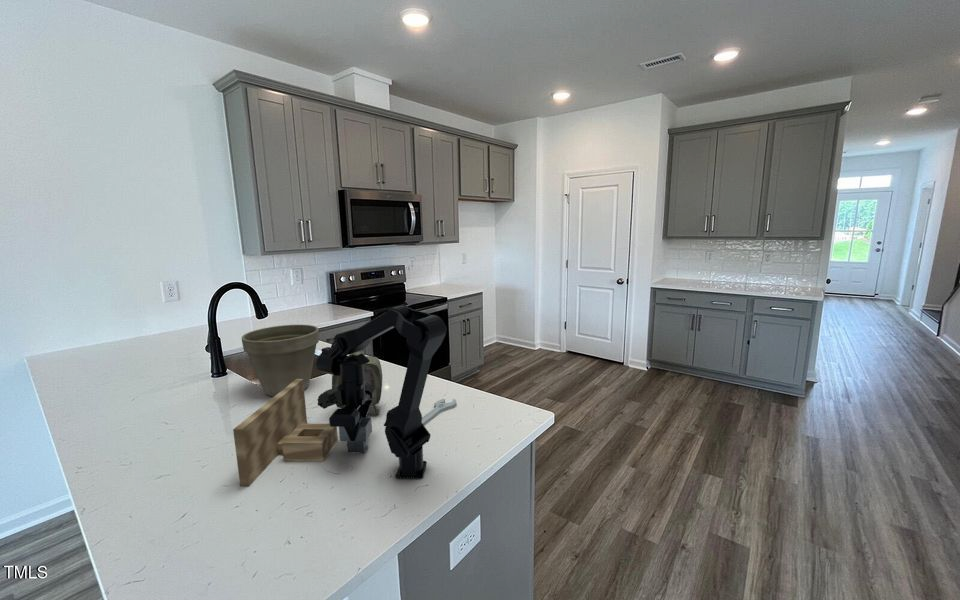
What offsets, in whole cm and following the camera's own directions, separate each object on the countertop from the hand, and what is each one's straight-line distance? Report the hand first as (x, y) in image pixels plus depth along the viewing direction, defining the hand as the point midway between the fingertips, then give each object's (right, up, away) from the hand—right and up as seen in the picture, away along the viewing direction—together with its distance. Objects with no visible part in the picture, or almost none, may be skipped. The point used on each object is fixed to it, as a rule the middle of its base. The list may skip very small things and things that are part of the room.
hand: (356, 435), depth 104 cm
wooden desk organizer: (-15, -4, +1) cm, 15 cm away
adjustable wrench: (+17, -2, +19) cm, 26 cm away
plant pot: (-39, +3, +42) cm, 57 cm away
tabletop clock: (-6, -1, +23) cm, 23 cm away
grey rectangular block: (0, -4, +1) cm, 4 cm away
